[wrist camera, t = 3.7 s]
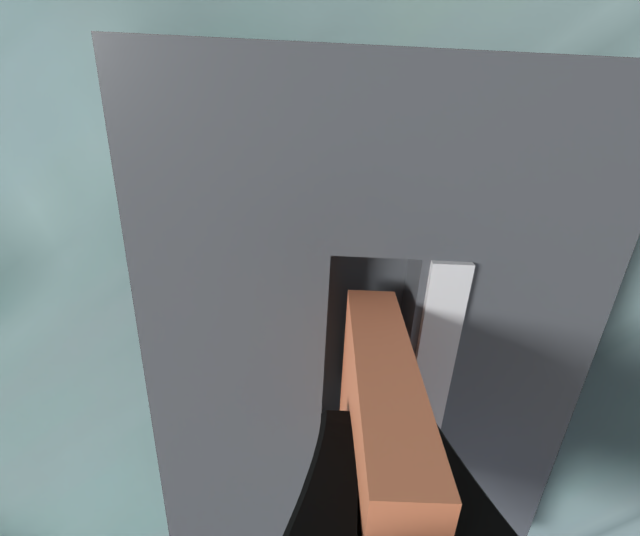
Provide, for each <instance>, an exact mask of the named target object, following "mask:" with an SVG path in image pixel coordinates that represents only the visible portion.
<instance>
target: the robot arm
mask: <svg viewBox="0 0 640 536" xmlns="http://www.w3.org/2000/svg"><path fill="white" fill-rule="evenodd" d="M436 424H437V423H436ZM437 427H438V430H439V433H440V436H441V439H442V442H443V446H444V449H445V452H446V455H447V458H448V461H449V465H450V468H451V471H452V474H453V477H454V480H455V484H456V487H457V490H458V493H459V496H460V499H461V502H462V507H461V511H460V515H459V519H458V523H457V527H456V531H455V535H454V536H518V534H517V533H516V532H515V531H514V530H513V528H512V527H511V526H510V525H509V523H508V522H507V521H506V520H505V518H504V517H503V516H502V514H501V513H500V512H499V511H498V509H497V508H496V507H495V505H494V504H493V503H492V501H491V500H490V499H489V497H488V496H487V495H486V493H485V492H484V491H483V489H482V488H481V487H480V485H479V484H478V483H477V481H476V480H475V479H474V477H473V476H472V474H471V473H470V472H469V470H468V469H467V467H466V466H465V465H464V463H463V462H462V460H461V459H460V457H459V456H458V455H457V453H456V452H455V450H454V449H453V447H452V446H451V444H450V443H449V441H448V440H447V438H446V437H445V435H444V434H443V432H442V431H441V429H440V428H439V426H438V425H437ZM357 515H358V479H357V469H356V460H355V450H354V441H353V432H352V424H351V417H350V411H340V410H326V411H324V412H323V413H321V423H320V429H319V435H318V439H317V443H316V447H315V451H314V454H313V458H312V461H311V464H310V467H309V470H308V473H307V476H306V478H305V481H304V484H303V487H302V490H301V493H300V495H299V498H298V500H297V503H296V505H295V508H294V510H293V512H292V515H291V517H290V519H289V522H288V524H287V526H286V529H285V531H284V534H283V536H357Z"/></svg>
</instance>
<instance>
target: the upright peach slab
mask: <svg viewBox="0 0 640 536" xmlns="http://www.w3.org/2000/svg"><path fill="white" fill-rule="evenodd" d="M340 411H350V417H351V424H352V432H353V441H354V450H355V460H356V469H357V479H358V515H357V536H454V535H455V531H456V527H457V523H458V519H459V515H460V511H461V507H462V502H461V499H460V496H459V493H458V490H457V487H456V484H455V480H454V477H453V474H452V471H451V468H450V465H449V461H448V458H447V455H446V452H445V449H444V446H443V442H442V439H441V436H440V433H439V430H438V427H437V424H436V420H435V417H434V414H433V411H432V408H431V405H430V401H429V398H428V395H427V392H426V389H425V386H424V383H423V379H422V376H421V373H420V370H419V367H418V364H417V360H416V357H415V354H414V351H413V348H412V345H411V341H410V338H409V335H408V332H407V329H406V326H405V323H404V319H403V316H402V313H401V310H400V307H399V304H398V300H397V297H396V294H395V292H392V291H366V290H348V296H347V310H346V325H345V339H344V353H343V368H342V382H341V396H340Z"/></svg>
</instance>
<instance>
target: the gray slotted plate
mask: <svg viewBox="0 0 640 536" xmlns="http://www.w3.org/2000/svg"><path fill="white" fill-rule="evenodd" d="M91 33H92V40H93V46H94V52H95V59H96V65H97V72H98V78H99V85H100V91H101V98H102V104H103V111H104V117H105V123H106V130H107V136H108V143H109V149H110V156H111V162H112V169H113V175H114V181H115V188H116V194H117V201H118V207H119V214H120V220H121V227H122V233H123V240H124V246H125V252H126V259H127V265H128V272H129V278H130V285H131V291H132V298H133V304H134V310H135V317H136V323H137V330H138V336H139V343H140V349H141V356H142V362H143V368H144V375H145V381H146V388H147V394H148V401H149V407H150V414H151V420H152V427H153V433H154V439H155V446H156V452H157V459H158V465H159V472H160V478H161V485H162V491H163V497H164V504H165V510H166V517H167V523H168V530H169V536H283V534H284V531H285V529H286V526H287V524H288V522H289V519H290V517H291V515H292V512H293V510H294V508H295V505H296V503H297V500H298V498H299V495H300V493H301V490H302V487H303V484H304V481H305V478H306V476H307V473H308V470H309V467H310V464H311V461H312V458H313V454H314V451H315V447H316V443H317V439H318V435H319V429H320V423H321V413H323V412H324V411H326V410H340V396H341V382H342V368H343V353H344V339H345V325H346V310H347V296H348V290H366V291H392V292H395V294H396V297H397V300H398V304H399V307H400V310H401V313H402V316H403V319H404V323H405V326H406V329H407V332H408V335H409V338H410V341H411V345H412V348H413V351H414V354H415V357H416V360H417V364H418V367H419V370H420V373H421V376H422V379H423V383H424V386H425V389H426V392H427V395H428V398H429V401H430V405H431V408H432V411H433V414H434V417H435V420H436V423H437V425H438V426H439V428H440V429H441V431H442V432H443V434H444V435H445V437H446V438H447V440H448V441H449V443H450V444H451V446H452V447H453V449H454V450H455V452H456V453H457V455H458V456H459V457H460V459H461V460H462V462H463V463H464V465H465V466H466V467H467V469H468V470H469V472H470V473H471V474H472V476H473V477H474V479H475V480H476V481H477V483H478V484H479V485H480V487H481V488H482V489H483V491H484V492H485V493H486V495H487V496H488V497H489V499H490V500H491V501H492V503H493V504H494V505H495V507H496V508H497V509H498V511H499V512H500V513H501V514H502V516H503V517H504V518H505V520H506V521H507V522H508V523H509V525H510V526H511V527H512V528H513V530H514V531H515V532H516V533H517V534H518V536H527V535H528V532H529V529H530V527H531V524H532V521H533V519H534V516H535V513H536V511H537V508H538V505H539V503H540V500H541V497H542V495H543V492H544V489H545V487H546V484H547V481H548V478H549V476H550V473H551V470H552V468H553V465H554V462H555V460H556V457H557V454H558V452H559V449H560V446H561V444H562V441H563V438H564V436H565V433H566V430H567V428H568V425H569V422H570V420H571V417H572V414H573V411H574V409H575V406H576V403H577V401H578V398H579V395H580V393H581V390H582V387H583V385H584V382H585V379H586V377H587V374H588V371H589V369H590V366H591V363H592V361H593V358H594V355H595V353H596V350H597V347H598V344H599V342H600V339H601V336H602V334H603V331H604V328H605V326H606V323H607V320H608V318H609V315H610V312H611V310H612V307H613V304H614V302H615V299H616V296H617V294H618V291H619V288H620V286H621V283H622V280H623V278H624V275H625V272H626V269H627V267H628V264H629V261H630V259H631V256H632V253H633V251H634V248H635V245H636V243H637V240H638V237H639V235H640V58H633V57H612V56H592V55H571V54H551V53H530V52H510V51H489V50H469V49H448V48H428V47H407V46H387V45H366V44H346V43H325V42H304V41H284V40H263V39H243V38H222V37H202V36H181V35H161V34H140V33H120V32H99V31H91Z"/></svg>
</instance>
